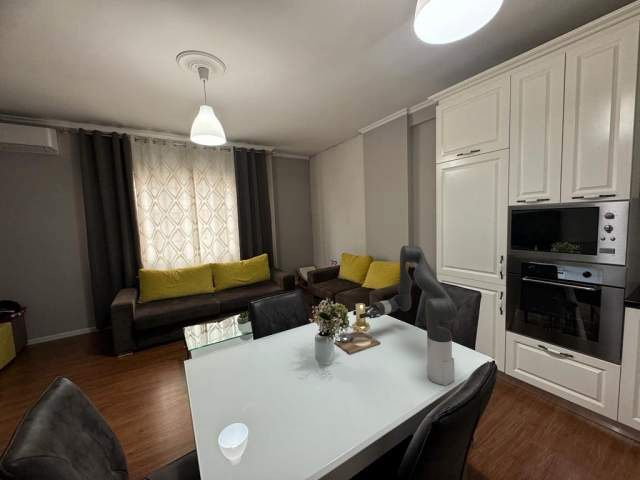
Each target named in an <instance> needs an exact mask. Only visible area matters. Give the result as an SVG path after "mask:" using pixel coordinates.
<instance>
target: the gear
mask: <svg viewBox="0 0 640 480" xmlns="http://www.w3.org/2000/svg"><path fill="white" fill-rule="evenodd" d="M339 333H340V337H341V339H340V341H338V342H339V343H340V344H341V343H350V341H351V340H353V336H352V335H350V334H349V332H345V331H343V332H339Z"/></svg>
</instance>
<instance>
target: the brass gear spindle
mask: <svg viewBox="0 0 640 480" xmlns="http://www.w3.org/2000/svg"><path fill="white" fill-rule="evenodd" d="M365 307H366V304H365V303H361V302H360V303H355V311H356V315H355V321H354V323H352V324H351V329H352V331H353V332H355V331H359V332H363V333H367V332H369V331H370V330H371V325H370V323H369V322H367V321H366V317H365V318H362V319H360V317H359V315H360V314H363V313H365Z"/></svg>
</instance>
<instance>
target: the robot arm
mask: <svg viewBox="0 0 640 480" xmlns="http://www.w3.org/2000/svg"><path fill="white" fill-rule="evenodd" d="M399 254H400V255H399V280H398V285H397V292H398V294H396V295H394V296H393V297H391V298H390V299H387V300H381V301H378V302H373V303H371V305H370V306H367V307H366V306H365V313H363V314H360V315H359V317H360V319H362V318H365V317H366V318H368V319H376V318H380V317H382V316H385V315H388V314H390V313H394V312H396V311H397V310H398V309H399V310H401V311H403V312H407V311H410V310H411V307H412V295H411V292H412V291H411V290H412V285H413V283H412V282H413V281H412V278H411V275H410V274H409V271H408V270H407V263H410V264H411V263H414V264H415V263H416V264H417V265H416V267H415V269H414V271H413V278H414V280H415V283H416V285H417V287H419V289H420V290H421V291H422V292H424V293H426V294H428V295H430V297H432V298H428V299H427V300H426V301H425V307H424V309H425V325H426V360H427V362H426V364H427V366H426V370H427V375H426V376H427V378H428V379H429V381H432V382H433V383H435V384H438V385H442V386H445V387H446V386H447V385H449V384H452V383H453V382H455V358H454V357H453V334H452V332H451V330H449V329H448V328H446V327H444V326H441V325H438V323H449V322H454V321H456V320H457V318H458V309H457V306H456V304H455V302H454V301H453V299H452V298H451V297H450V295H449V294H448V292H447V291H446V290H445V289H444V287H443V286H442V284H441V283H440V281H439V279H438V277H437V275H436V274H435V272H434V271H433V269H432V268H431V266H430V264H429V262H428V260H427V258H426V256H425V253H424V251H423V249H422V247H420V246H418V245H403V246H401V248H400V253H399ZM352 315H353V316H356V310H353V311H352Z"/></svg>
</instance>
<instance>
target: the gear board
mask: <svg viewBox="0 0 640 480" xmlns="http://www.w3.org/2000/svg"><path fill="white" fill-rule="evenodd" d="M348 334H350V335H352V336H353V340H351V341H350V343H341V344H340V343H339V342H338V341H335V344H334V345H336V346H337V347H338V348H340V349H342V351H344V352H345V353H346V354H347V355H349V356H350V355H354V354H356V353H359V352H361V351H365V350H368V349H371V348H374V347H377V346H380V345H381V341H379V340H378V339H376V338H374V337H373V336H370V335H368V334H367V333H366V332H364V331H363V332H359V331H352V332H348Z"/></svg>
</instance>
